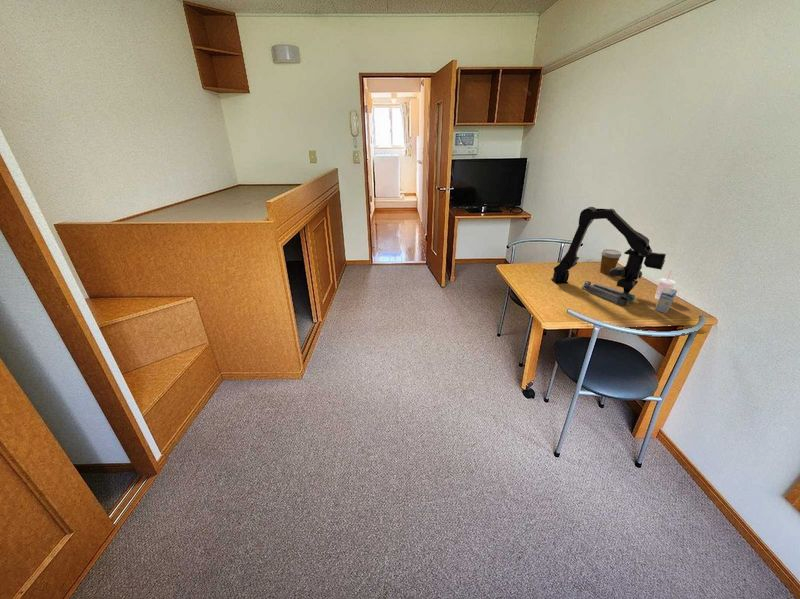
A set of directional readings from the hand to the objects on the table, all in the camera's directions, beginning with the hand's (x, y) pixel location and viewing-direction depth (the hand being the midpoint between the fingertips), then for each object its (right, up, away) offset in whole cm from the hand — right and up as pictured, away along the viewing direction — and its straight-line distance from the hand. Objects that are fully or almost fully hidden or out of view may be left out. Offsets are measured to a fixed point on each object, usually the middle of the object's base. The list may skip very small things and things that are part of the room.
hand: (625, 295), depth 157 cm
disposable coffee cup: (+9, +13, +30) cm, 34 cm away
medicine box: (+10, -6, -10) cm, 15 cm away
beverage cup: (+16, -2, -1) cm, 16 cm away
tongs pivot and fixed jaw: (-9, 0, +3) cm, 9 cm away
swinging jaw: (-5, 0, +3) cm, 5 cm away
